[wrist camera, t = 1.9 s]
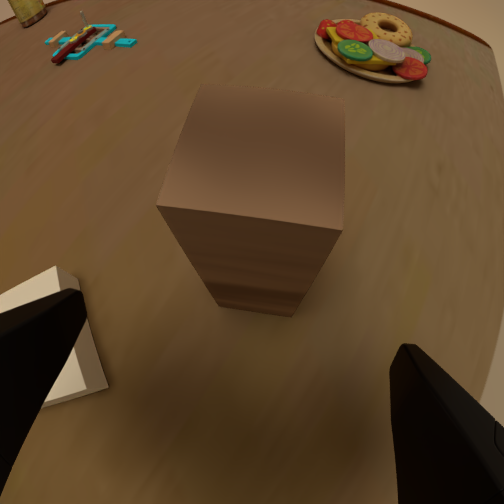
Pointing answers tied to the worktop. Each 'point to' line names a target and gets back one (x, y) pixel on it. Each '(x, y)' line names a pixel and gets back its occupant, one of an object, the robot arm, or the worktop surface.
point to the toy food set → (373, 48)
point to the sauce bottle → (28, 11)
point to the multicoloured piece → (87, 36)
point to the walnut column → (257, 192)
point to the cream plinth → (84, 351)
